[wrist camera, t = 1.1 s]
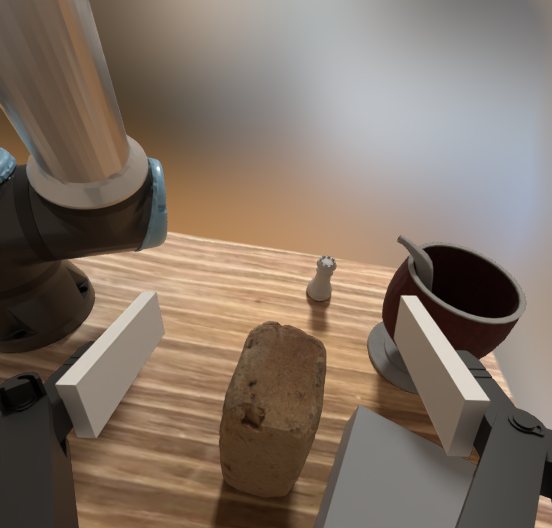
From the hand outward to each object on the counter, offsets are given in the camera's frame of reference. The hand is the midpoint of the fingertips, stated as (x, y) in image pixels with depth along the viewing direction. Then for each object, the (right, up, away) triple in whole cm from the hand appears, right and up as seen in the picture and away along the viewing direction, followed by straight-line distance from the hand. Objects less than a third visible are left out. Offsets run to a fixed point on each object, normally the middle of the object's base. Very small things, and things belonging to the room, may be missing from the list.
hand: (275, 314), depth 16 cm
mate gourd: (+19, -11, +30) cm, 38 cm away
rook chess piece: (+8, -3, +38) cm, 39 cm away
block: (-1, -19, +19) cm, 27 cm away
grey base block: (+12, -24, +15) cm, 31 cm away
